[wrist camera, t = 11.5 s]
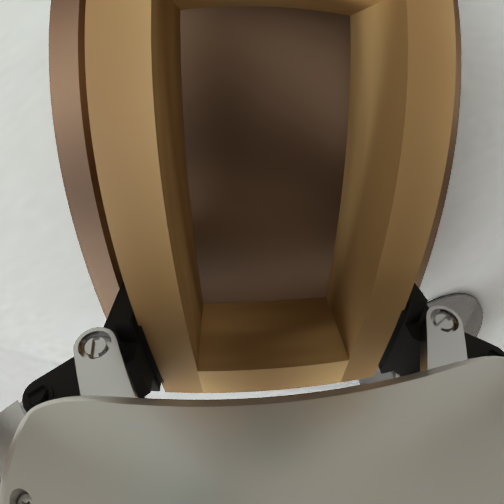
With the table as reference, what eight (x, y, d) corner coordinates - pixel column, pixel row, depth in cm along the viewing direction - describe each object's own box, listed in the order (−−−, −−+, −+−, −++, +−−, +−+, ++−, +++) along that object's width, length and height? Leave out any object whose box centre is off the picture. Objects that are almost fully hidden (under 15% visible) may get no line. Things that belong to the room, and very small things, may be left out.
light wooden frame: (388, -10, 5) (492, -44, 1) (350, 317, 11) (386, 411, 8) (136, -19, 5) (56, -82, 1) (175, 327, 11) (160, 431, 7)
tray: (364, 312, 16) (387, 361, 13) (147, 324, 15) (134, 378, 12) (401, -18, 7) (451, -37, 4) (101, -22, 6) (58, -49, 3)
